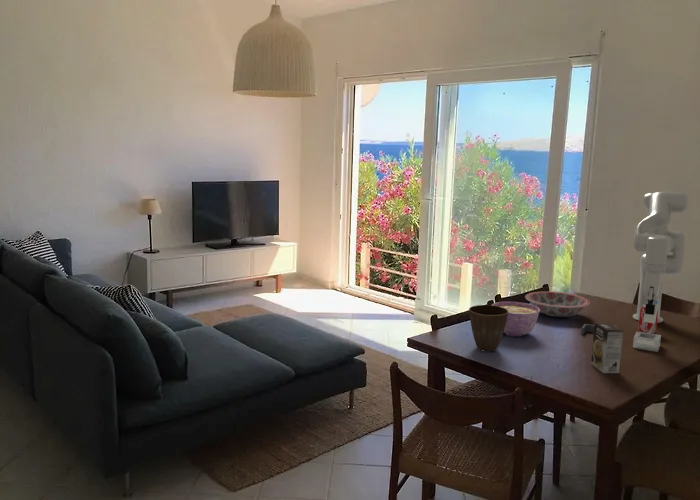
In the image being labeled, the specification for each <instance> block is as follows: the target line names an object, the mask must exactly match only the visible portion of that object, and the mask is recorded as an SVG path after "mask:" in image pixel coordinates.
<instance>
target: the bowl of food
mask: <svg viewBox="0 0 700 500" xmlns="http://www.w3.org/2000/svg"><path fill="white" fill-rule="evenodd" d="M491 305H492V306H498V307H502V308H505V309H507V310H508V316H507V321H506V325H505V329H504V332H503V334H504V333H506V334H508V335H507V336H509V335H512V336H511V337H515V336H517V337H522V336H521V335H523V336H524V335H527V334H529V333H531V332H532V331H533V330H534V328H535V327H536V324H537V320H538V318H539V315H540V309H539V308H538V307H536V306H534V305H531V303H526V302H520V301H519V302H518V301H498V302H494V303H492V304H491ZM506 334H505V335H506Z"/></svg>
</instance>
